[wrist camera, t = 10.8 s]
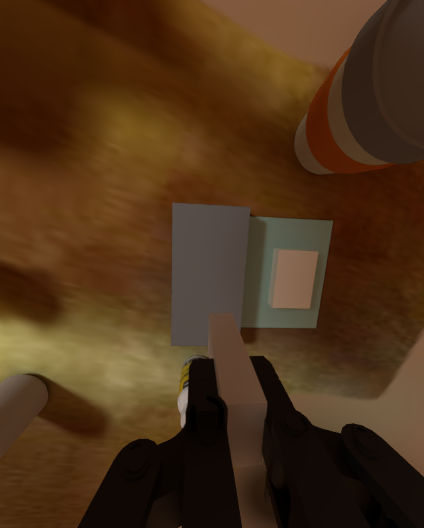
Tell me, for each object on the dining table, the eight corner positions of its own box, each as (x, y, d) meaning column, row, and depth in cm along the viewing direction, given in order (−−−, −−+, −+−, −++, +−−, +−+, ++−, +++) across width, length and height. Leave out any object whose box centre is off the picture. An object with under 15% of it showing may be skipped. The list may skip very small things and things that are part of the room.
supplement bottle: (197, 348, 34) (196, 397, 25) (219, 367, 35) (227, 421, 26) (175, 369, 35) (166, 424, 25) (197, 387, 36) (197, 447, 26)
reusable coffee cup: (360, 187, 31) (508, 154, 16) (279, 187, 30) (357, 153, 15) (371, 92, 28) (560, -50, 14) (284, 90, 27) (382, -63, 13)
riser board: (176, 205, 29) (172, 202, 26) (243, 209, 30) (250, 207, 26) (174, 331, 33) (171, 345, 29) (234, 331, 34) (239, 345, 30)
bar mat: (243, 216, 30) (243, 216, 30) (332, 220, 31) (333, 220, 31) (234, 326, 34) (235, 327, 34) (315, 327, 35) (316, 328, 35)
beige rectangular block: (318, 251, 30) (311, 249, 32) (278, 249, 29) (273, 248, 31) (309, 308, 32) (303, 303, 34) (272, 307, 31) (267, 302, 33)
